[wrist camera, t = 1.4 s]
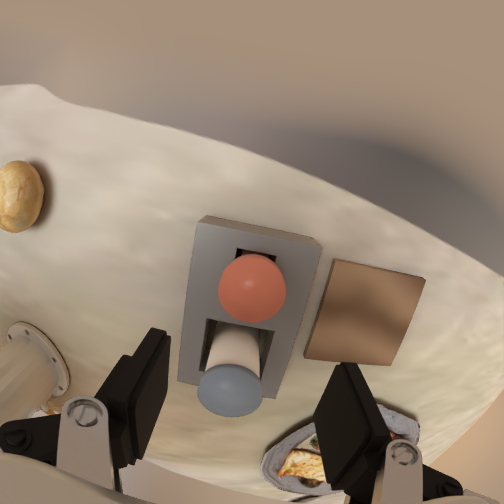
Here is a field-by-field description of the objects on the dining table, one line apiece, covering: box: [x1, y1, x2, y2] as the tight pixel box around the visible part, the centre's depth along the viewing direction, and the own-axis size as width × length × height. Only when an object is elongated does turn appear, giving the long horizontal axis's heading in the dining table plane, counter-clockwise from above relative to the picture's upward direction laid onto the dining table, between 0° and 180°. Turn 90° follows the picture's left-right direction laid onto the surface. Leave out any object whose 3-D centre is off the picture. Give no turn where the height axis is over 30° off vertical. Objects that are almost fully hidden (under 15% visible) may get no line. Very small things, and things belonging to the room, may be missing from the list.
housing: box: [177, 216, 322, 399], centre depth 26 cm, size 16×10×4 cm, turn 168°
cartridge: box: [197, 321, 263, 417], centre depth 24 cm, size 5×5×10 cm
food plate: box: [261, 404, 420, 495], centre depth 33 cm, size 25×23×4 cm
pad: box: [303, 258, 426, 366], centre depth 28 cm, size 11×11×1 cm
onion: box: [0, 161, 45, 233], centre depth 22 cm, size 8×8×7 cm
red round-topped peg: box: [218, 249, 286, 323], centre depth 22 cm, size 4×4×7 cm
